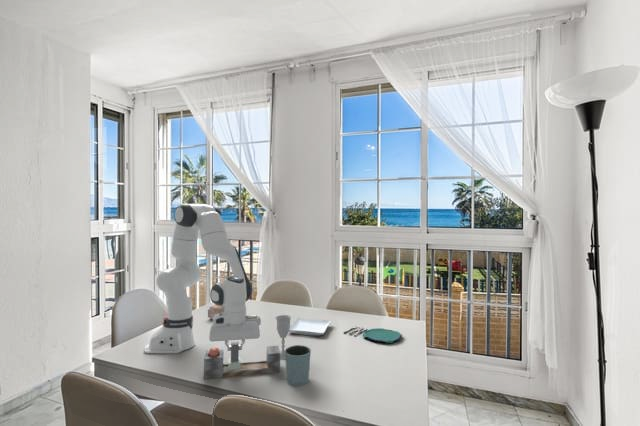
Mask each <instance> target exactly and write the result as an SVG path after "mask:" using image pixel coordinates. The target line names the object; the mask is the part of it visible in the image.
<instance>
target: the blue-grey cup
mask: <svg viewBox="0 0 640 426" xmlns="http://www.w3.org/2000/svg"><path fill="white" fill-rule="evenodd" d="M284 350H285V357H286V359H285V369H286V382H287V383H288V384H289V385H291V386H303V385H306V384H307V383H308V382H309V377H310V375H309V373H310V362H311V354H312V353H311V352H312V350H311V348H310V347H309V346H307V345H302V344H301V345H300V344H294V345H291V346H288V347H287V348H285V349H284Z"/></svg>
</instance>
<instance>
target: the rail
mask: <svg viewBox="0 0 640 426" xmlns="http://www.w3.org/2000/svg"><path fill="white" fill-rule="evenodd" d="M280 351H281V350H280V347H279V345H271V346H270V345H268V346H266V360H259V361H258V360H257V361H246V362H245V361H244V362H241V370H232V371H228V363H224V349H219V356H212V357H209V350H205V354H204V359H203V380H209V379H210V380H211V379H212V380H213V379H220V378H226V377H227V378H228V377H239V376H248V375H250V376H251V375H259V374H275V373H276V374H277V373H279V374H280V373H281V359H280Z"/></svg>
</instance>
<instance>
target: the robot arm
mask: <svg viewBox="0 0 640 426" xmlns="http://www.w3.org/2000/svg"><path fill="white" fill-rule="evenodd" d="M173 216H174V217H173V218H174V221H175V226H174V231H173V236H172V244H171V254H172V256H173V257H174V258H175V261H176V266H173V267H170V268H166V269H164V270H163V271H161V272H160V273H158V275H157V277H156V285H157V288H158V289H159V290H160V291H161V292H163V294H164V296H165V298H166V305H167V315H165V316H164V318H163V320H162V326H161V327H159V329H157V330H155V332H153V333H152V334H151V337H150V340H149V342H148V343H147V344H146V345H145V346H144V348H143V349H144V350H143V351H144V354H179V353H182V352H184V351H186V350H190V349H191V348H193V347H195V345H196V342H195V339H194V332H193V327H194V318H193V317H194V316H193V300H192V298H191V297H189V296H188V294H187V290H186V289H187V288H188V287H191V286H193V285H196V284H197V283H198V282H199V281H200V280H201V279H202V275H203V272H202V270H201V269H202V268H201V267H200V266H199V265H198V262H197V247H198V246H197V245H198V237H199V233H200V241H201V245H202V248H203V250H204V251H205V252H206V253H207V254H208V255H210V256H213V257H216V258H220V259H223V260H224V261H226V262H227V263H228V265H229V266H230V269H231V272H232V275H231V276H228V277H227V278H226V279H225V280H222V281H220V282H216V283H215V284H213V285H212V287H211V289H210V294H209V295H210V296H209V297H210V301H211V302H212V303H213V304H214V305H224V306H225V309H224V312H222V313H219V314H216V315H214V317H213V319H212V323H211V326H210V329H209V337H208V338H209V341H210V342H223V341H224V344H225V346H226V347H227V348H226V349H227V352H231V344H229V341H239V340H241V342H240V344H239V351H242V350H243V346H244V344H245V343H246V340H255V339H259V338H260V336H261V330H260V326H261V323H262V322H261V321H262V320H261V317H260V316H258V315H255V314H254V315H247V306H246V302H247V301H248V300H249V299H250V298H251V296H252V294H253V285H252V284H251V282H250V279H249V277H248V275H247V273H246V270H245V267H244V264H243V262H242V259H241V257H240V254H239V252H238V249H237V248H236V246H234V245H233V244H232V243H231V242H230V240H229V237H228V235H227V231H226V227H225V223H224V221H223V218H222V212H221V210H220V208H219V207H217V206H215V205H213V204H210V205H209V204H204V203H196V204H195V203H181V204H179V205H177V206H176V208H175V209H174V214H173Z"/></svg>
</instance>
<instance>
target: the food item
mask: <svg viewBox="0 0 640 426" xmlns="http://www.w3.org/2000/svg"><path fill="white" fill-rule="evenodd" d="M224 309H225V306H224V305H216V304H214V305H212V306H209V308H208V309H207V318H209V319H211V320H213V317H214V315H216V314H219V313H222V312H224Z"/></svg>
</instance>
